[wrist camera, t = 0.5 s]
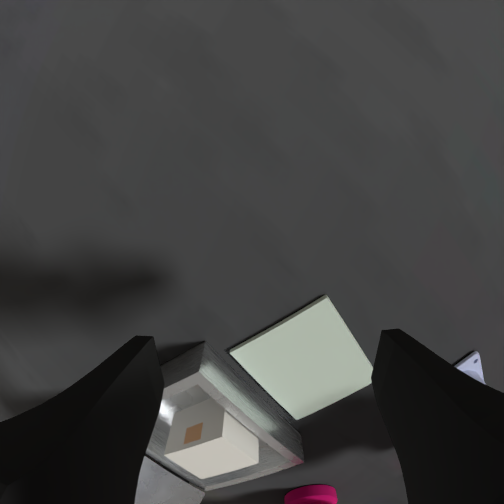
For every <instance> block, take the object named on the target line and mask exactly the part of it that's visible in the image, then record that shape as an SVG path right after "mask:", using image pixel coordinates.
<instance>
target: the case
mask: <svg viewBox="0 0 504 504" xmlns="http://www.w3.org/2000/svg"><path fill="white" fill-rule="evenodd" d="M160 367H161V371H162V375H163V379H164V382H165V385H164V391H163V397H162V402H161V407H160V411H159V414H158V417H157V420H156V423H155V426H154V429H153V432H152V435H151V438H150V441H149V444H148V447H147V450H146V454H147V455H149V456H150V457H152V458H153V459H155V460H156V461H158V462H159V463H161V464H162V465H163V468H164V469H165V470H167V471H168V472H170V473H172V474H173V475H175V476H176V477H178V478H180V479H181V480H183V481H185V482H186V483H188V484H189V482H191V483H193V484H194V485H196V486H198V487H200V488H201V489H203V490H205V491H208V490H212V489H217V488H221V487H225V486H229V485H233V484H237V483H241V482H245V481H248V480H252V479H255V478H259V477H262V476H265V475H268V474H272V473H275V472H278V471H281V470H284V469H287V468H290V467H292V466H295V465H298V464H301V463H304V455H303V447H302V440H301V434H300V433H299V432H298V431H297V430H296V429H295V428H293V427H292V426H291V425H290V424H289V423H288V422H287V421H286V420H285V419H284V418H282V417H281V416H280V415H279V414H278V413H277V412H276V411H275V410H274V409H273V408H272V407H271V406H270V405H269V404H268V403H266V402H265V401H264V400H263V399H262V398H261V397H260V396H259V395H258V394H257V393H256V392H255V391H254V390H253V389H252V388H251V387H250V386H249V385H248V384H247V383H246V382H245V381H244V380H243V379H242V378H241V377H240V376H239V375H238V374H237V373H236V372H235V371H234V370H233V369H232V368H231V367H230V366H229V365H228V364H227V363H226V362H225V361H224V360H223V359H222V358H221V357H220V356H219V355H218V353H217V352H216V351H215V350H214V349H213V348H212V347H211V346H210V345H209V344H208V343H207V342H206V341H205V342H203V343H201V344H199V345H197V346H196V347H194V348H192V349H190V350H188V351H187V352H185V353H183V354H181V355H179V356H177V357H176V358H174V359H172V360H170V361H168V362H166V363H164V364H162V365H161V366H160ZM209 398H213V399H214V400H215V401H216V402H218V403H219V404H220V405H221V406H222V407H223V408H224V409H226V410H227V411H228V412H229V413H230V414H231V415H232V416H234V417H235V418H236V419H237V420H238V421H240V422H241V423H242V424H243V425H244V426H246V427H247V428H248V429H249V430H250V431H252V432H253V433H254V434H255V435H257V436H258V444H259V463H257V464H254V465H251V466H248V467H245V468H241V469H238V470H235V471H231V472H228V473H224V474H220V475H216V476H212V477H208V478H204V479H200V478H198V477H197V476H195V475H193V474H192V473H190V472H189V471H187V470H185V469H184V468H182V467H181V466H179V465H178V464H176V463H175V462H173V461H172V460H170V459H169V458H167V457H166V456H164V452H165V448H166V444H167V440H168V436H169V432H170V428H171V424H172V420H173V416H174V413H176V412H179V411H181V410H183V409H186V408H188V407H191V406H193V405H195V404H198V403H200V402H203V401H205V400H207V399H209Z"/></svg>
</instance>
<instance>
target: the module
mask: <svg viewBox="0 0 504 504" xmlns="http://www.w3.org/2000/svg"><path fill="white" fill-rule="evenodd" d="M164 456H166V457H167V458H169V459H170V460H172V461H173V462H175V463H176V464H178V465H179V466H181V467H182V468H184V469H185V470H187V471H189V472H190V473H192V474H193V475H195V476H197V477H198V478H200V479H204V478H208V477H212V476H216V475H220V474H224V473H228V472H231V471H235V470H238V469H241V468H245V467H248V466H251V465H254V464H257V463H259V444H258V436H257V435H255V434H254V433H253V432H252V431H250V430H249V429H248V428H247V427H246V426H244V425H243V424H242V423H241V422H240V421H238V420H237V419H236V418H235V417H234V416H232V415H231V414H230V413H229V412H228V411H227V410H226V409H224V408H223V407H222V406H221V405H220V404H219V403H218V402H216V401H215V400H214V399H213V398H209V399H207V400H205V401H203V402H200V403H198V404H195V405H193V406H191V407H188V408H186V409H183V410H181V411H179V412H176V413H174V416H173V420H172V424H171V428H170V432H169V436H168V440H167V444H166V448H165V452H164Z"/></svg>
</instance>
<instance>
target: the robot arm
mask: <svg viewBox="0 0 504 504" xmlns="http://www.w3.org/2000/svg"><path fill="white" fill-rule="evenodd" d="M371 381H372V385H373V389H374V393H375V397H376V401H377V404H378V407H379V409H380V412H381V414H382V417H383V419H384V422H385V425H386V427H387V430H388V432H389V435H390V437H391V440H392V442H393V445H394V447H395V450H396V453H397V455H398V458H399V461H400V465H401V469H402V473H403V477H404V482H405V487H406V492H407V498H408V504H504V393H502V392H500V391H497V390H495V389H493V388H491V387H489V386H487V385H486V384H485V382H484V379H483V373H482V367H481V361H480V356H479V353H478V352H477V351H475V352H473V353H471V354H470V355H469V356H467V357H466V358H465V359H463V360H462V361H460V362H459V363H458V364H456V365H455V366H453V365H451V364H450V363H448V362H447V361H445V360H444V359H442V358H441V357H439V356H438V355H436V354H435V353H434V352H432V351H431V350H429V349H428V348H427V347H425V346H424V345H422V344H421V343H420V342H418V341H417V340H415V339H414V338H412V337H411V336H409V335H408V334H406V333H405V332H403V331H402V330H400V329H390V330H382V331H381V336H380V341H379V345H378V350H377V354H376V359H375V363H374V367H373V371H372V375H371ZM164 385H165V382H164V379H163V375H162V371H161V367H160V363H159V359H158V355H157V350H156V346H155V342H154V337H153V336H135V337H133V338H132V339H131V340H129V341H128V342H127V343H125V344H124V345H123V346H122V347H121V348H119V349H118V350H117V351H116V352H115V353H113V354H112V355H111V356H110V357H108V358H107V359H106V360H105V361H103V362H102V363H101V364H100V365H99V366H97V367H96V368H95V369H94V370H92V371H91V372H90V373H88V374H87V375H85V376H84V377H83V378H81V379H80V380H79V381H77V382H76V383H75V384H73V385H72V386H70V387H69V388H67V389H66V390H64V391H63V392H61V393H60V394H58V395H57V396H55V397H53V398H51V399H50V400H48V401H46V402H45V403H43V404H41V405H39V406H37V407H35V408H33V409H31V410H28V411H26V412H24V413H22V414H20V415H18V416H15V417H13V418H10V419H8V420H5V421H2V422H0V504H134V503H135V496H136V490H137V484H138V479H139V474H140V470H141V466H142V462H143V459H144V456H145V453H146V450H147V447H148V444H149V441H150V438H151V435H152V432H153V429H154V426H155V423H156V420H157V417H158V414H159V411H160V407H161V402H162V397H163V391H164Z"/></svg>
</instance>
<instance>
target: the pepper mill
mask: <svg viewBox="0 0 504 504" xmlns="http://www.w3.org/2000/svg"><path fill="white" fill-rule="evenodd" d="M284 502H285V504H336V503H337V495H336V490H335V489H334V488H333V487H331V486H329V485H322V484H319V485H307V486H303V487H299V488H296V489H294V490H292V491H290V492H288V493H287V494H286V495H285V497H284Z"/></svg>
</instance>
